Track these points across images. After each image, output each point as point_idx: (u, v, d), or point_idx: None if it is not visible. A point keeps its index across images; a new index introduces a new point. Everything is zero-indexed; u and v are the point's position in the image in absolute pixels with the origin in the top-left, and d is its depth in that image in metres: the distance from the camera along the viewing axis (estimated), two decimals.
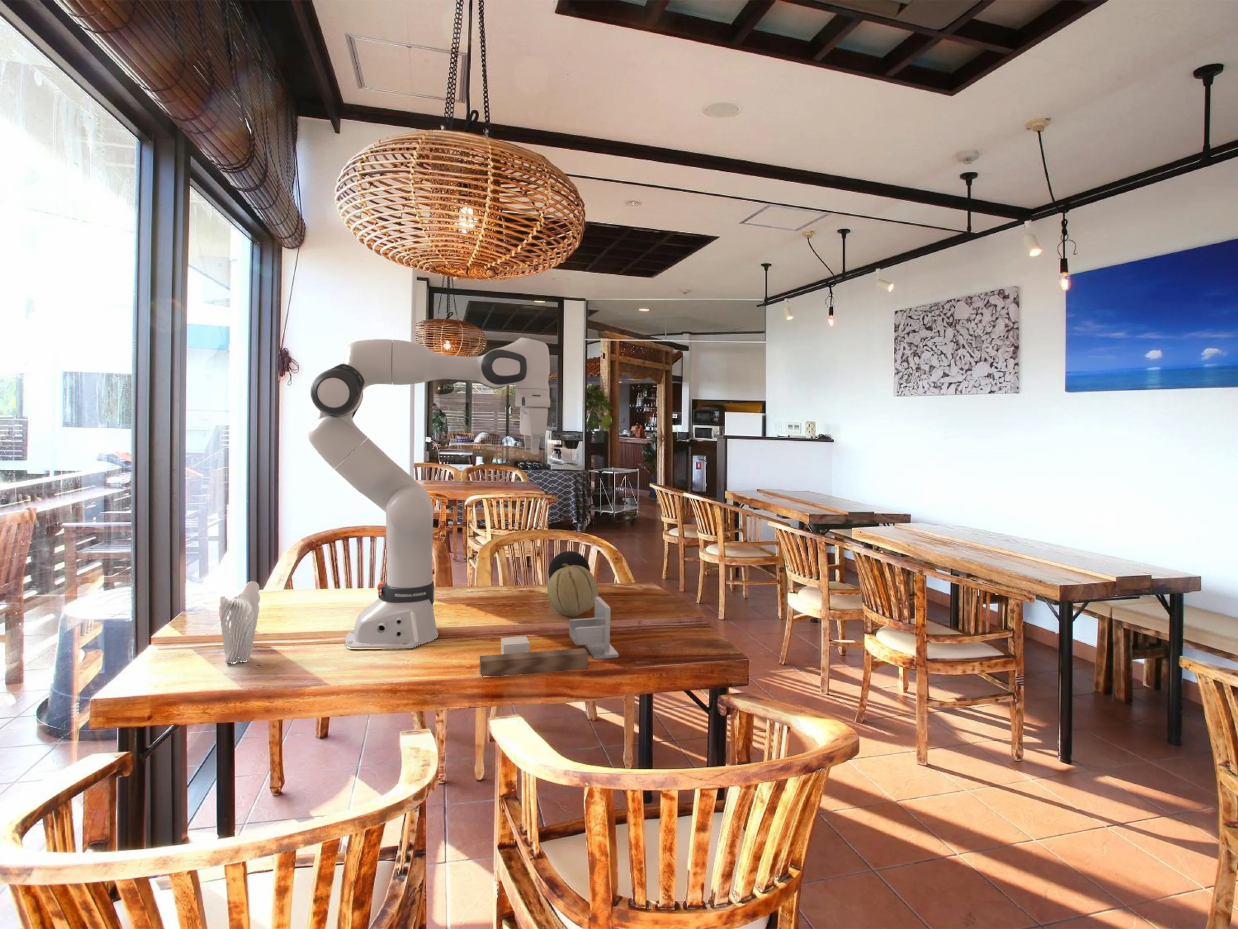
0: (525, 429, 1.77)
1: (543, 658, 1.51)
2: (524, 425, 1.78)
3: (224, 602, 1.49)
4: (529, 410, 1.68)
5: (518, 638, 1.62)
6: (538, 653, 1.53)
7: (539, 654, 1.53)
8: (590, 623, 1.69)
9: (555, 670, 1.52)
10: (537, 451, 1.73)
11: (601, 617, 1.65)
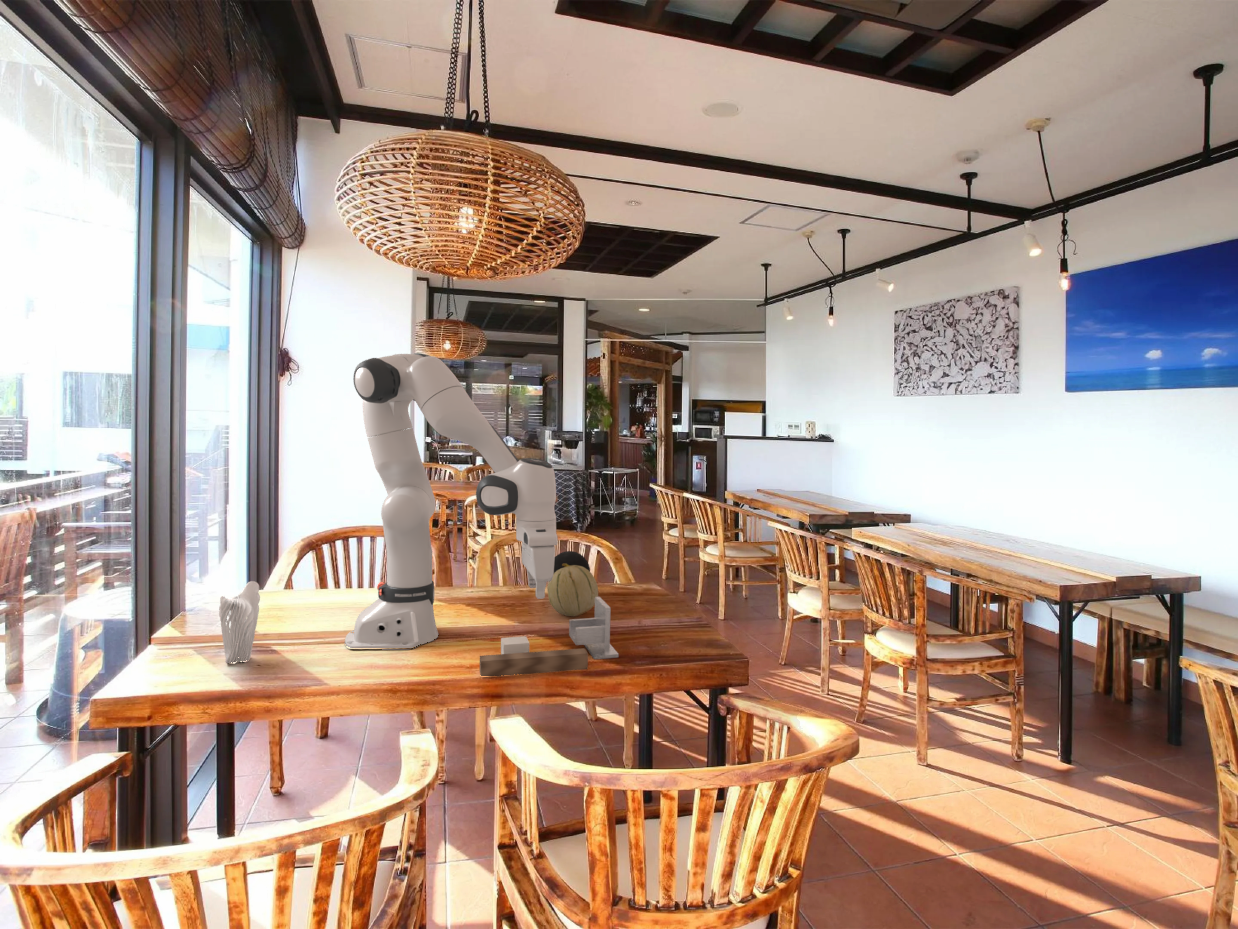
0: (528, 566, 1.50)
1: (542, 658, 1.51)
2: (527, 560, 1.52)
3: (224, 602, 1.49)
4: (533, 551, 1.42)
5: (518, 638, 1.62)
6: (538, 653, 1.53)
7: (539, 654, 1.53)
8: (590, 623, 1.69)
9: (555, 670, 1.52)
10: (543, 595, 1.47)
11: (601, 617, 1.65)
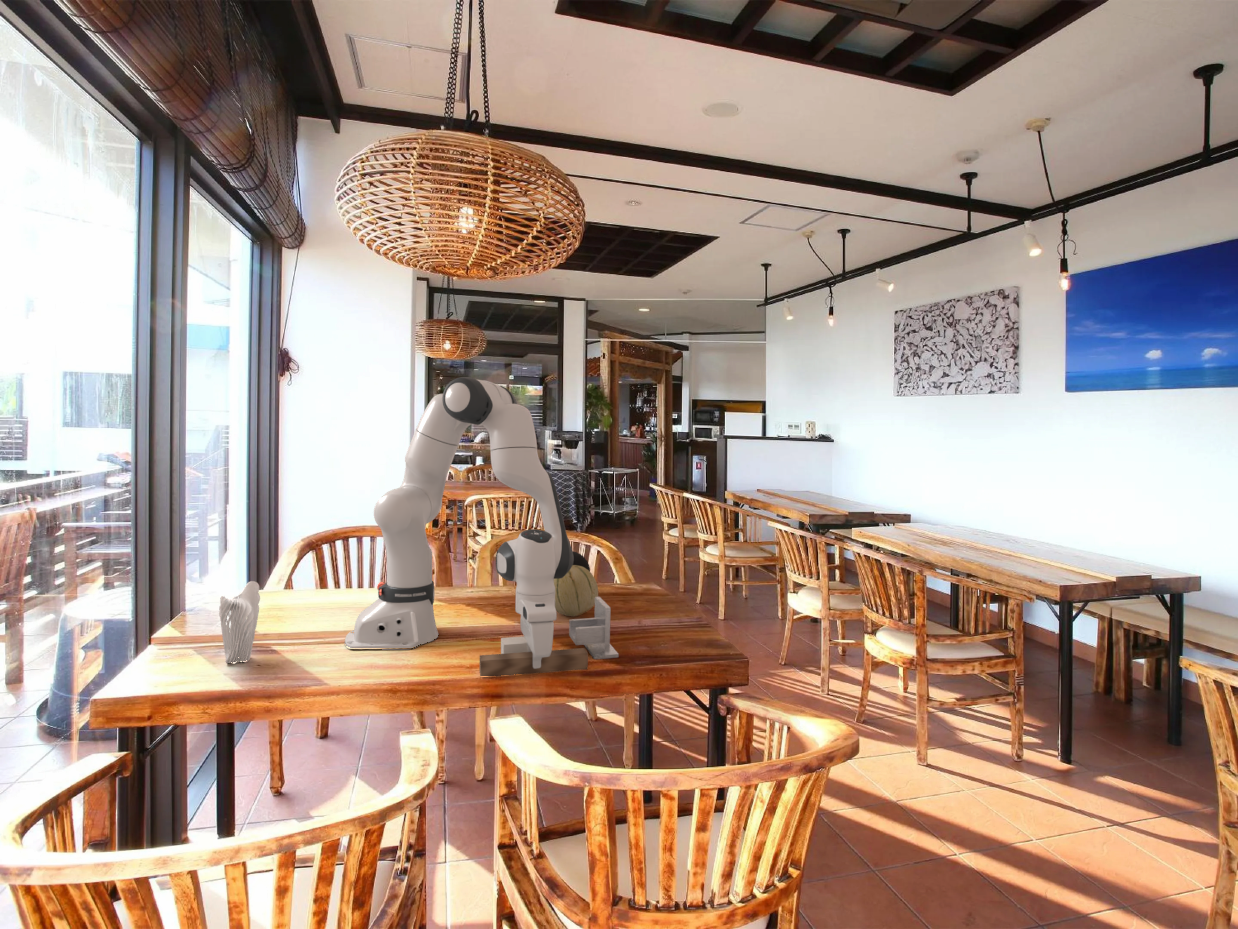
0: (527, 637, 1.51)
1: (542, 658, 1.51)
2: (526, 630, 1.53)
3: (224, 602, 1.49)
4: (532, 627, 1.43)
5: (518, 638, 1.62)
6: None
7: None
8: (590, 623, 1.69)
9: (555, 670, 1.52)
10: (539, 664, 1.50)
11: (601, 617, 1.65)
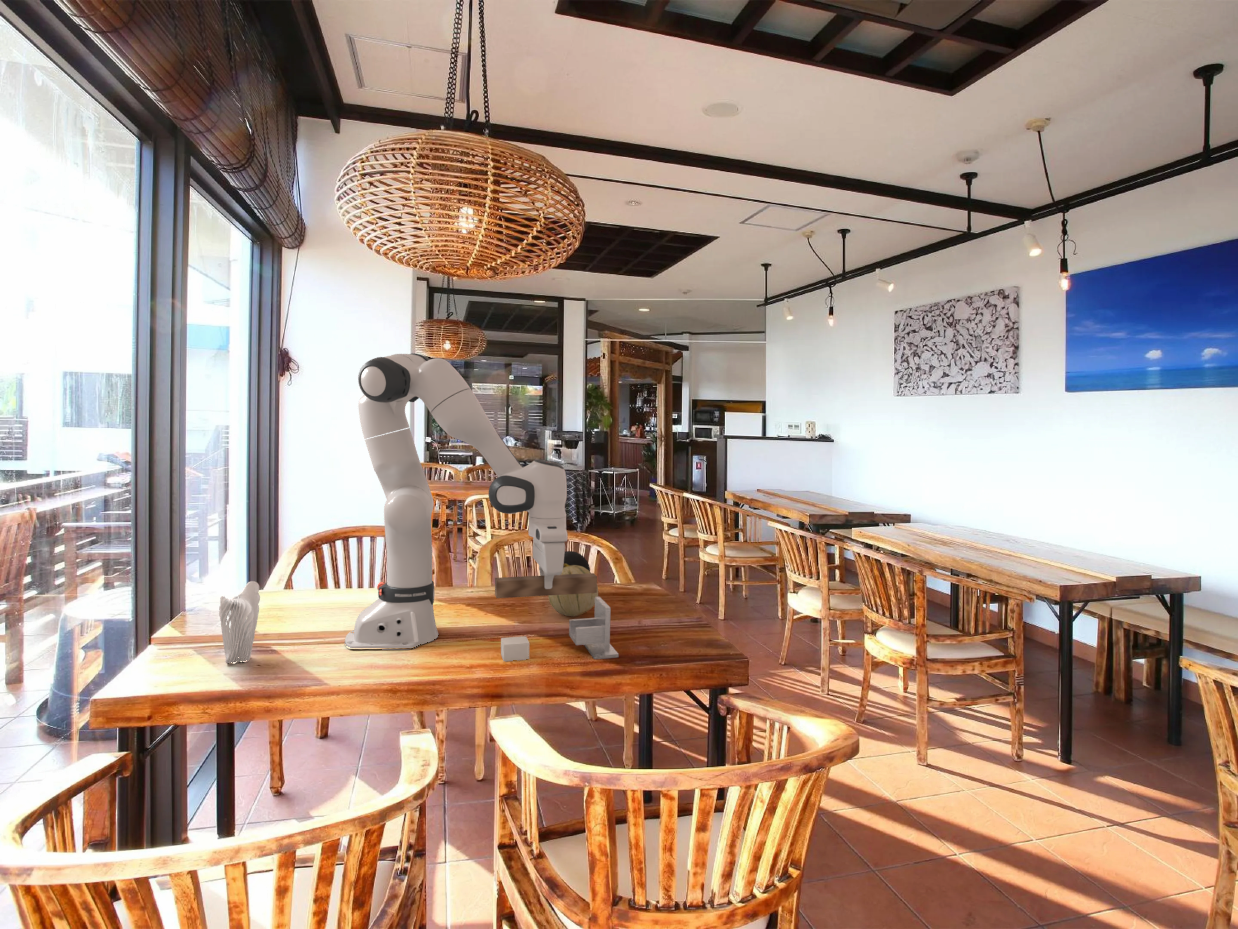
0: (539, 560, 1.60)
1: (554, 580, 1.60)
2: (538, 555, 1.62)
3: (224, 602, 1.49)
4: (544, 546, 1.52)
5: (518, 638, 1.62)
6: None
7: None
8: (590, 623, 1.69)
9: (566, 591, 1.61)
10: (551, 585, 1.59)
11: (601, 617, 1.65)
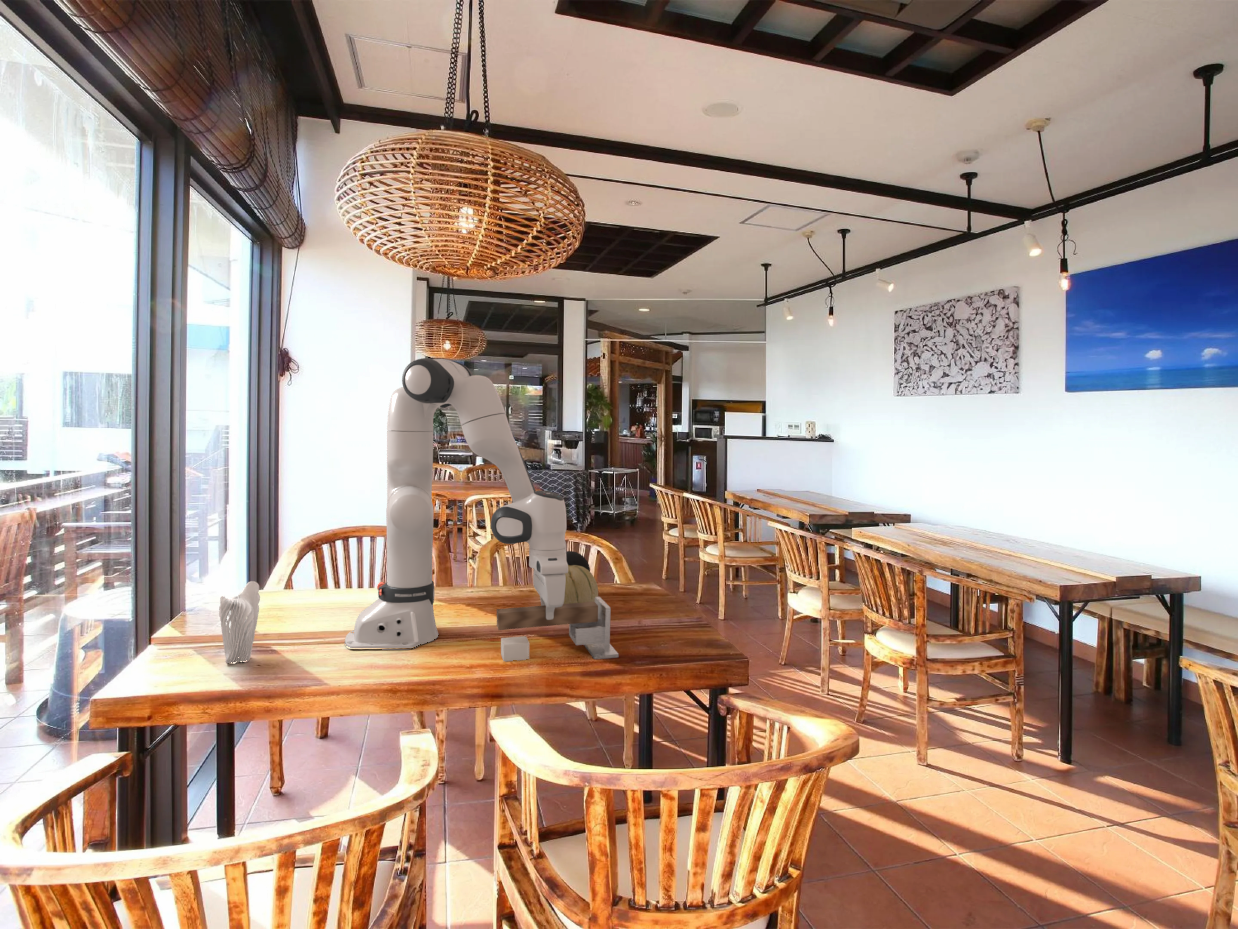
0: (540, 591, 1.61)
1: (556, 610, 1.61)
2: (539, 585, 1.63)
3: (224, 602, 1.49)
4: (545, 579, 1.53)
5: (518, 638, 1.62)
6: None
7: None
8: (590, 623, 1.69)
9: (567, 621, 1.62)
10: (552, 616, 1.60)
11: (601, 617, 1.65)
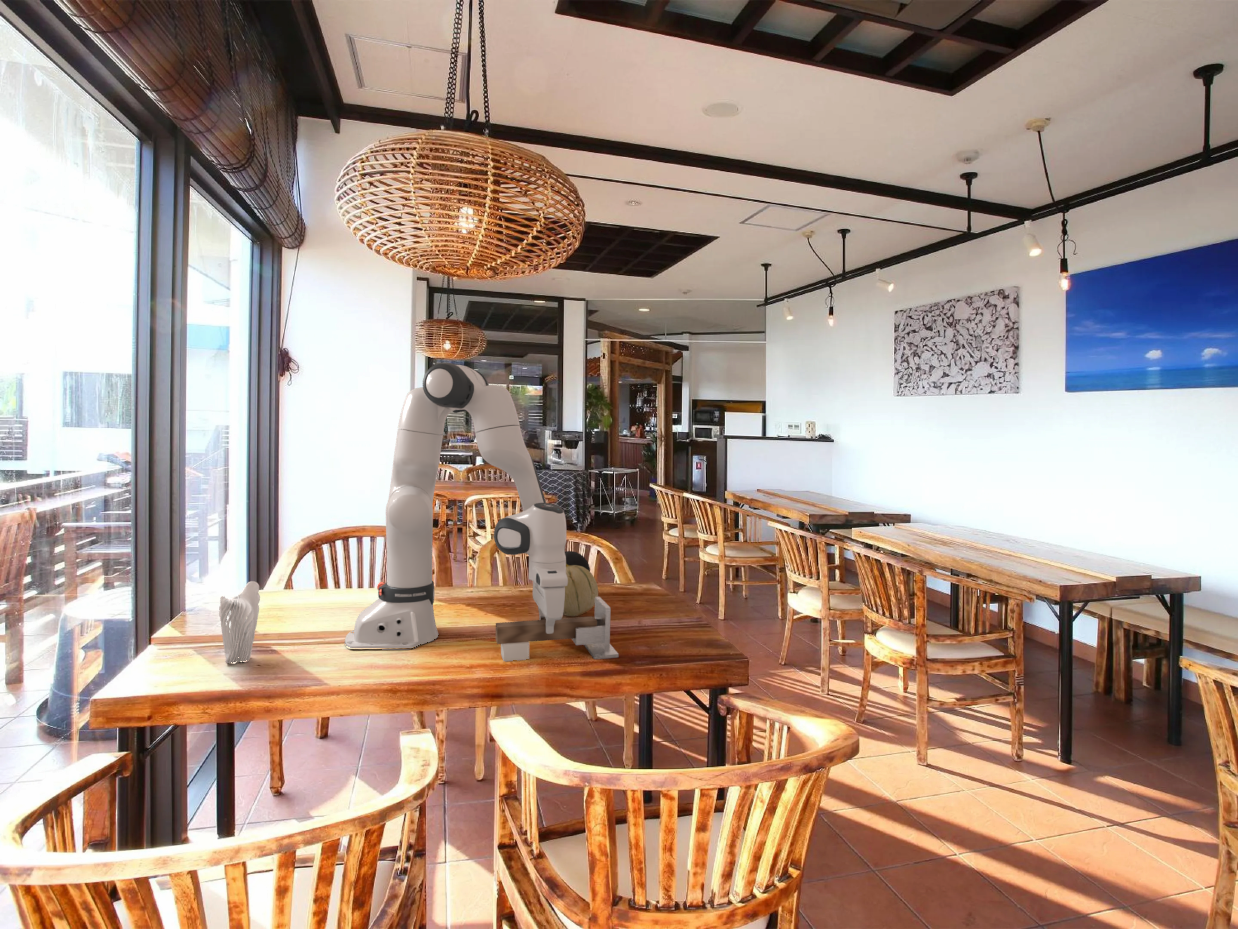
0: (539, 603, 1.61)
1: (555, 625, 1.62)
2: (538, 597, 1.63)
3: (224, 602, 1.49)
4: (544, 592, 1.53)
5: None
6: None
7: None
8: None
9: (566, 636, 1.63)
10: (552, 630, 1.59)
11: (601, 617, 1.65)
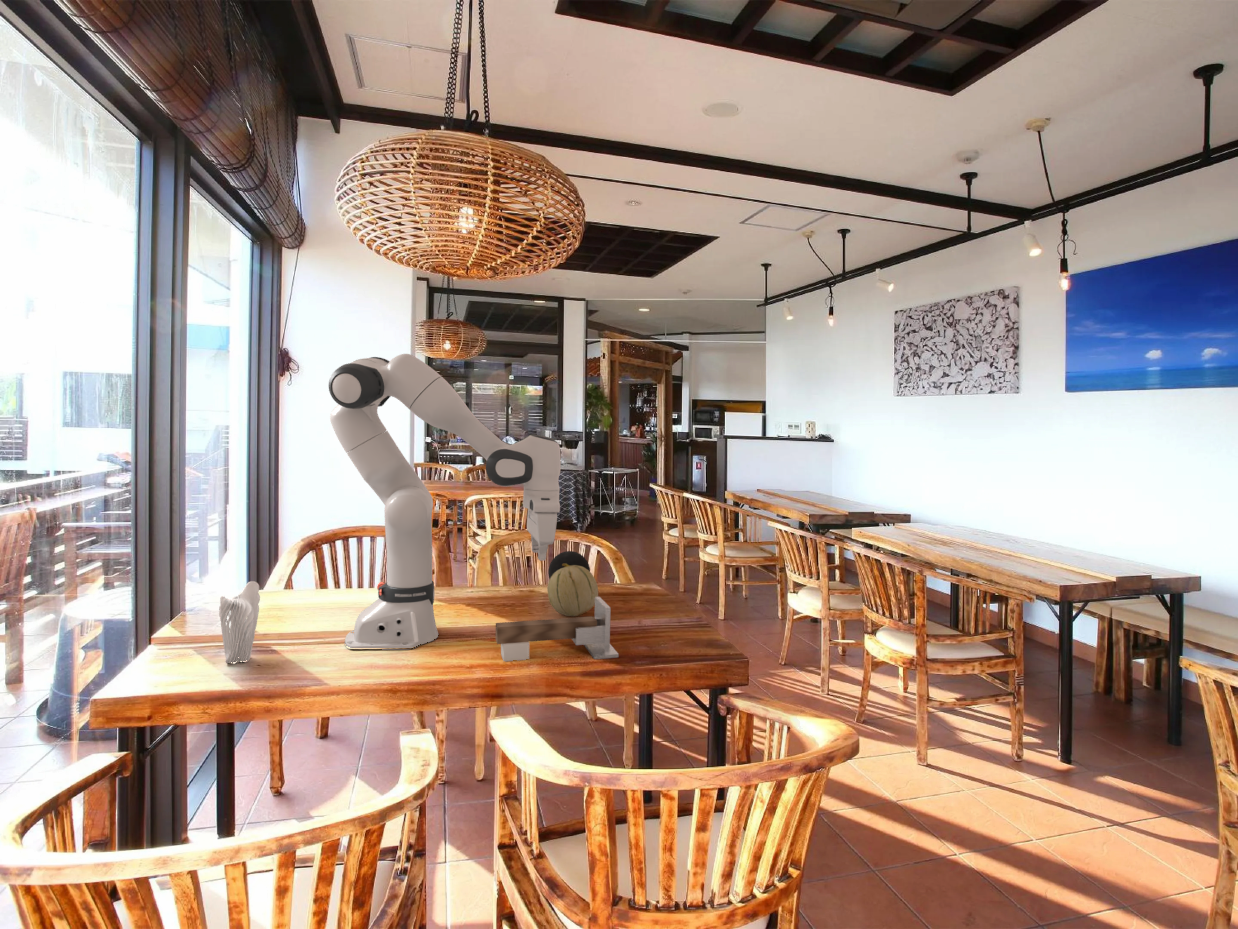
0: (532, 531, 1.67)
1: (555, 625, 1.62)
2: (531, 526, 1.68)
3: (224, 602, 1.49)
4: (537, 516, 1.58)
5: None
6: (550, 620, 1.64)
7: (551, 621, 1.63)
8: None
9: (566, 636, 1.63)
10: (544, 557, 1.63)
11: (601, 617, 1.65)
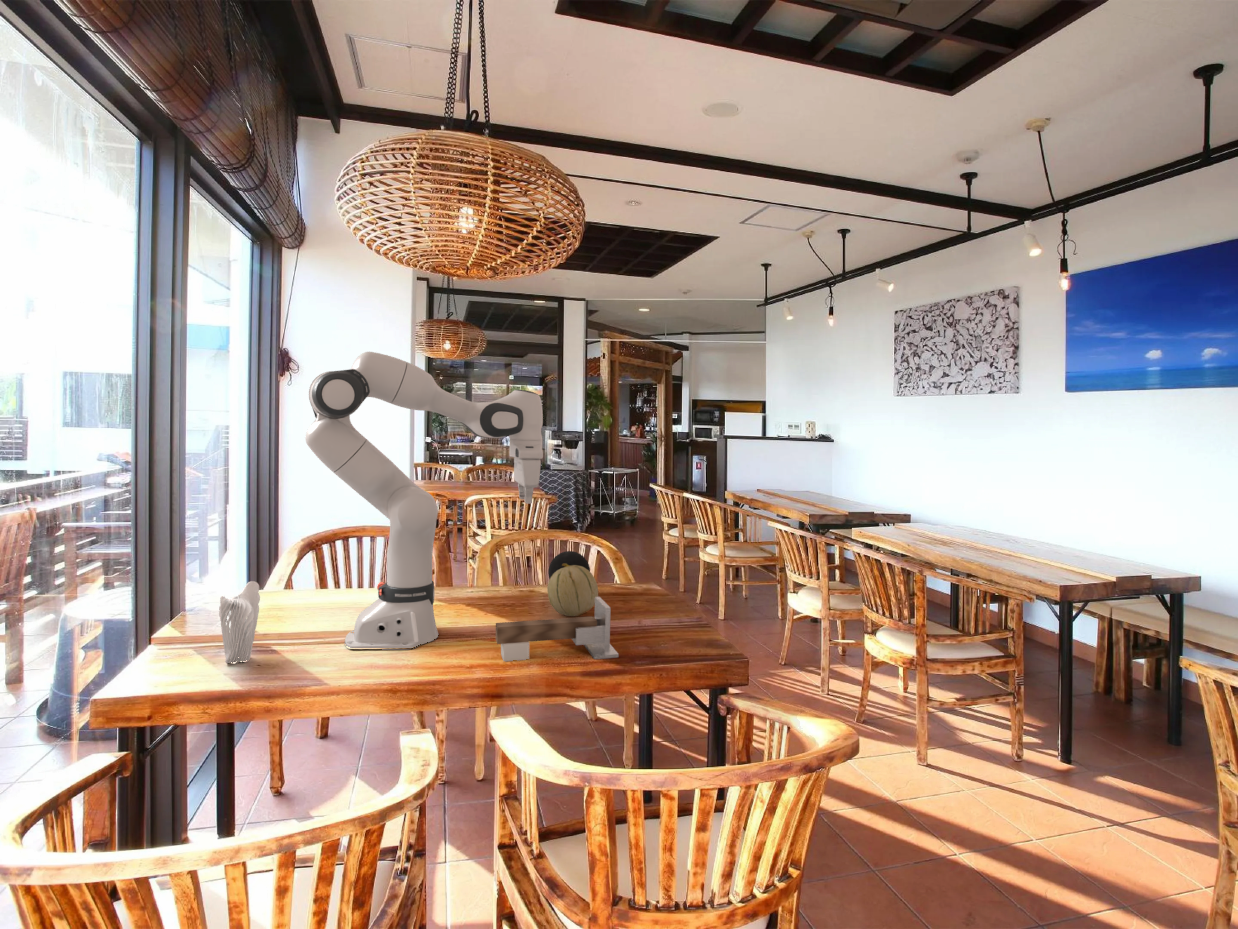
0: (519, 478, 1.83)
1: (555, 625, 1.62)
2: (518, 474, 1.84)
3: (224, 602, 1.49)
4: (522, 462, 1.74)
5: None
6: (550, 620, 1.64)
7: (551, 621, 1.63)
8: None
9: (566, 636, 1.63)
10: (530, 500, 1.79)
11: (601, 617, 1.65)
